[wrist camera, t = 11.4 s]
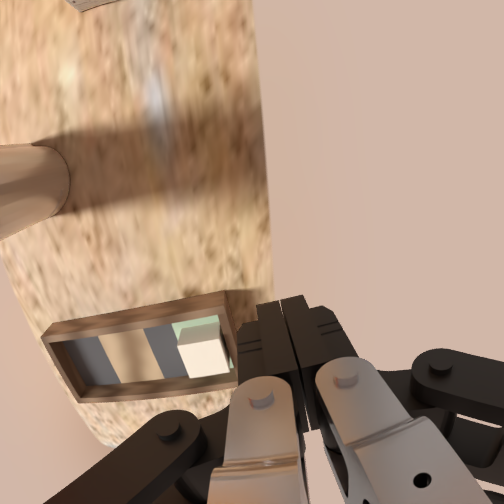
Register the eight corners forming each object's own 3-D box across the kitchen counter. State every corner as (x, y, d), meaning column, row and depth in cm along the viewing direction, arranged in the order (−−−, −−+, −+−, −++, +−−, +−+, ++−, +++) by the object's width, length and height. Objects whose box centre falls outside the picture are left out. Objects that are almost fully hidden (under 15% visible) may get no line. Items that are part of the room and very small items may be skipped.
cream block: (193, 359, 41) (189, 378, 37) (181, 328, 39) (176, 346, 36) (229, 353, 41) (229, 372, 37) (220, 321, 39) (219, 338, 36)
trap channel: (86, 387, 43) (78, 403, 40) (52, 323, 40) (40, 337, 36) (246, 366, 43) (247, 385, 39) (224, 290, 39) (223, 305, 35)
